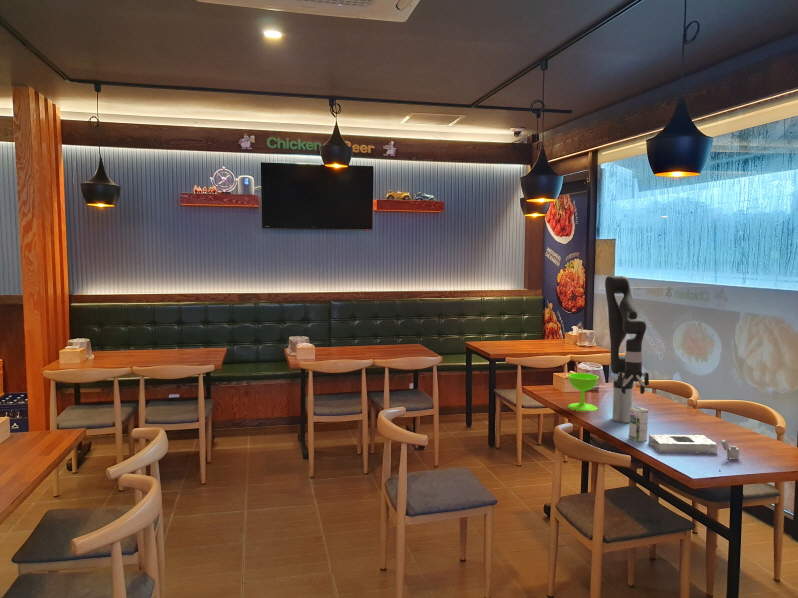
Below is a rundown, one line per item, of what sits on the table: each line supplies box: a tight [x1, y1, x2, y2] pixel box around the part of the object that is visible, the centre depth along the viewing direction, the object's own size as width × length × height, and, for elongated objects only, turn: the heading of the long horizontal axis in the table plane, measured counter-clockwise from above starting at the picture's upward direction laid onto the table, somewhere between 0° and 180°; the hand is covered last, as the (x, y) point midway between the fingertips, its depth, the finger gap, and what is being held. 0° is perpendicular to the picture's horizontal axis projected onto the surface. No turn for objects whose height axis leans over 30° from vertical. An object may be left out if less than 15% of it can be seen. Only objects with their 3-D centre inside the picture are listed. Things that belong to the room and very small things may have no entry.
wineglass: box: [567, 372, 599, 412], centre depth 312 cm, size 16×16×18 cm
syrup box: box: [628, 406, 649, 443], centre depth 260 cm, size 6×6×14 cm
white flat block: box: [648, 434, 718, 454], centre depth 249 cm, size 12×24×4 cm, turn 87°
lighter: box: [720, 439, 740, 459], centre depth 236 cm, size 7×2×8 cm, turn 93°
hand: (632, 393), depth 276 cm, fingers open, 8 cm apart
